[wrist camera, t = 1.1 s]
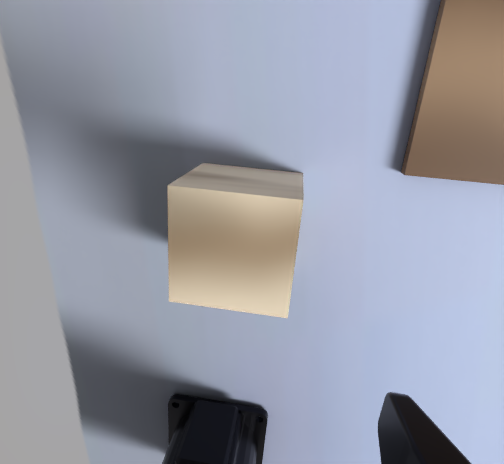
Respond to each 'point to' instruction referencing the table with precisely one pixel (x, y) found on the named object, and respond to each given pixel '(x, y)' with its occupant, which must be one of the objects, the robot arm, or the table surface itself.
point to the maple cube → (234, 238)
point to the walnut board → (461, 97)
